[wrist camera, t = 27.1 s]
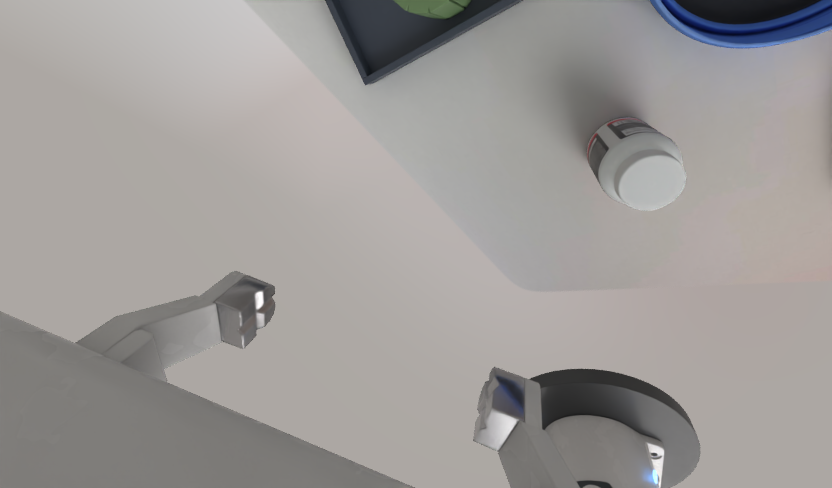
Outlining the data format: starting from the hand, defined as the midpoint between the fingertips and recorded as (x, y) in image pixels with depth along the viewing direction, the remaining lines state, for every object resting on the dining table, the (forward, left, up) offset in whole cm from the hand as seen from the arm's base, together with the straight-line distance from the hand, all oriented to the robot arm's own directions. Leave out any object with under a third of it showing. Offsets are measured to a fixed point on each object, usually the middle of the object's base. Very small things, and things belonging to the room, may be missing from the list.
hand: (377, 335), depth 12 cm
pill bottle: (-5, -12, -27) cm, 30 cm away
